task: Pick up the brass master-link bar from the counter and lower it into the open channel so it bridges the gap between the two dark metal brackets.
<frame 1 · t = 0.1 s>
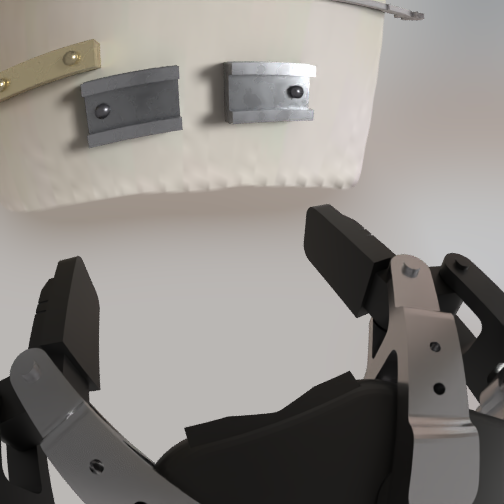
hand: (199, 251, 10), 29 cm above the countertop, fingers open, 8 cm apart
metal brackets: (200, 93, 32), on the countertop
master link: (47, 71, 23), on the countertop
caliper: (357, 4, 30), on the countertop
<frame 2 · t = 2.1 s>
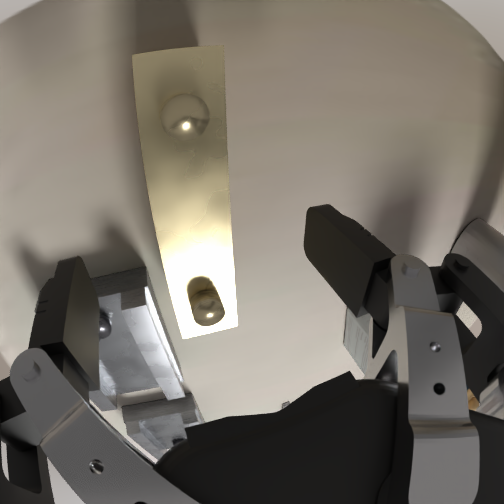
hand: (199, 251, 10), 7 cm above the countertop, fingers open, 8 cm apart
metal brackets: (147, 387, 25), on the countertop
master link: (179, 181, 16), on the countertop
supplement box: (369, 312, 31), on the countertop
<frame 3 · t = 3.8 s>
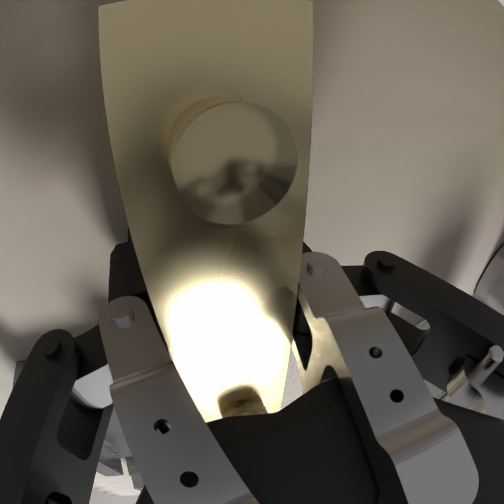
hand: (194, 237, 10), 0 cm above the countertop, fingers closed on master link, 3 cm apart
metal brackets: (153, 442, 20), on the countertop
master link: (193, 233, 11), on the countertop, touching gripper
supplement box: (398, 348, 26), on the countertop
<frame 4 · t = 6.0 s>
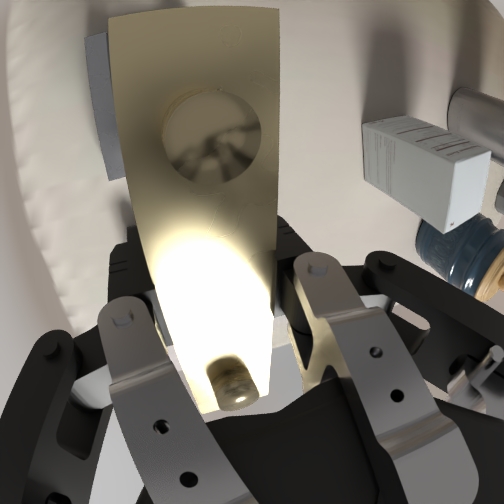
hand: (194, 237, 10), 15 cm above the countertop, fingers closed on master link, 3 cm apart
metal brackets: (162, 188, 25), on the countertop
master link: (187, 215, 12), point 14 cm above the countertop, touching gripper
coffeepot: (500, 197, 49), on the countertop
supplement box: (384, 145, 30), on the countertop
canister: (437, 226, 43), on the countertop
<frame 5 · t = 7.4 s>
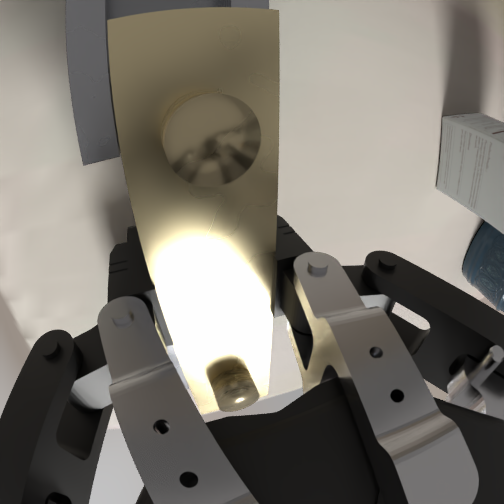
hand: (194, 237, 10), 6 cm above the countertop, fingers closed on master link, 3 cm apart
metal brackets: (176, 183, 15), on the countertop
master link: (187, 216, 12), point 4 cm above the countertop, touching gripper
supplement box: (457, 146, 21), on the countertop
canister: (482, 242, 34), on the countertop
when the fingers open (4 cm above the countertop, at t = 8.3 s): master link stays where it is, resting on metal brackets.
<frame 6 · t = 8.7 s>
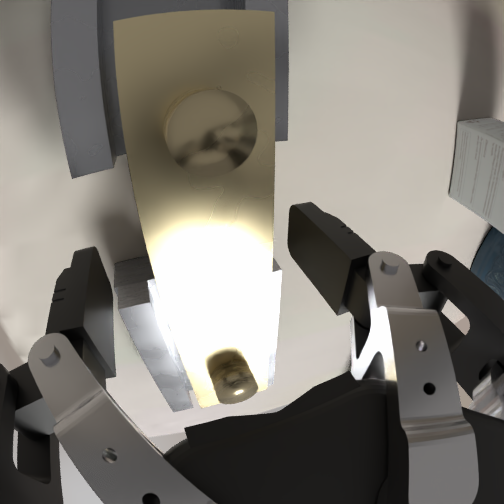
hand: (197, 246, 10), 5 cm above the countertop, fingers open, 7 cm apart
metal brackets: (179, 194, 13), on the countertop
master link: (187, 211, 12), point 2 cm above the countertop, touching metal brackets
supplement box: (470, 152, 20), on the countertop
canister: (489, 248, 33), on the countertop
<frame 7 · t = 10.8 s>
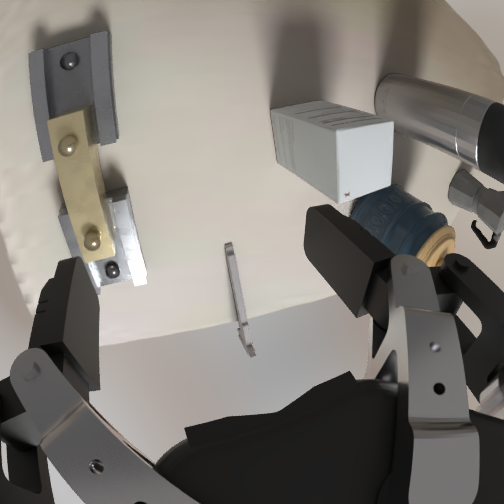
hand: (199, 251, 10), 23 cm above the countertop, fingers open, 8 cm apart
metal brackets: (88, 169, 27), on the countertop
master link: (86, 175, 25), point 2 cm above the countertop, touching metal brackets
coffeepot: (455, 189, 56), on the countertop
caliper: (234, 295, 46), on the countertop
supplement box: (298, 129, 34), on the countertop
canister: (374, 213, 48), on the countertop
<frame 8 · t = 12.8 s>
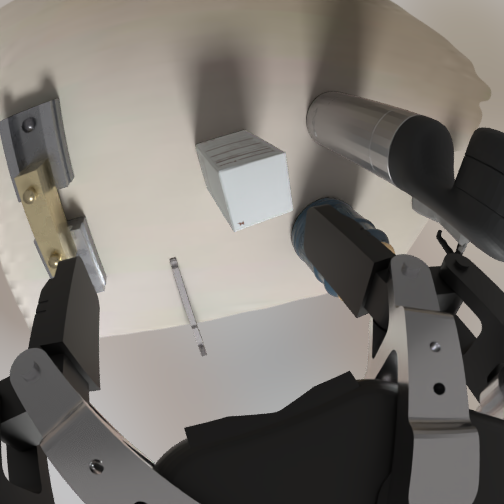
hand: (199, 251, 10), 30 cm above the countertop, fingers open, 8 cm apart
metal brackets: (54, 204, 33), on the countertop
master link: (52, 209, 32), point 2 cm above the countertop, touching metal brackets
coffeepot: (421, 199, 59), on the countertop
caliper: (186, 301, 52), on the countertop
supplement box: (225, 158, 39), on the countertop
canister: (320, 227, 53), on the countertop
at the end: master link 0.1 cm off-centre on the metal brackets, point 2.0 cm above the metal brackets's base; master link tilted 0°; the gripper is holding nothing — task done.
